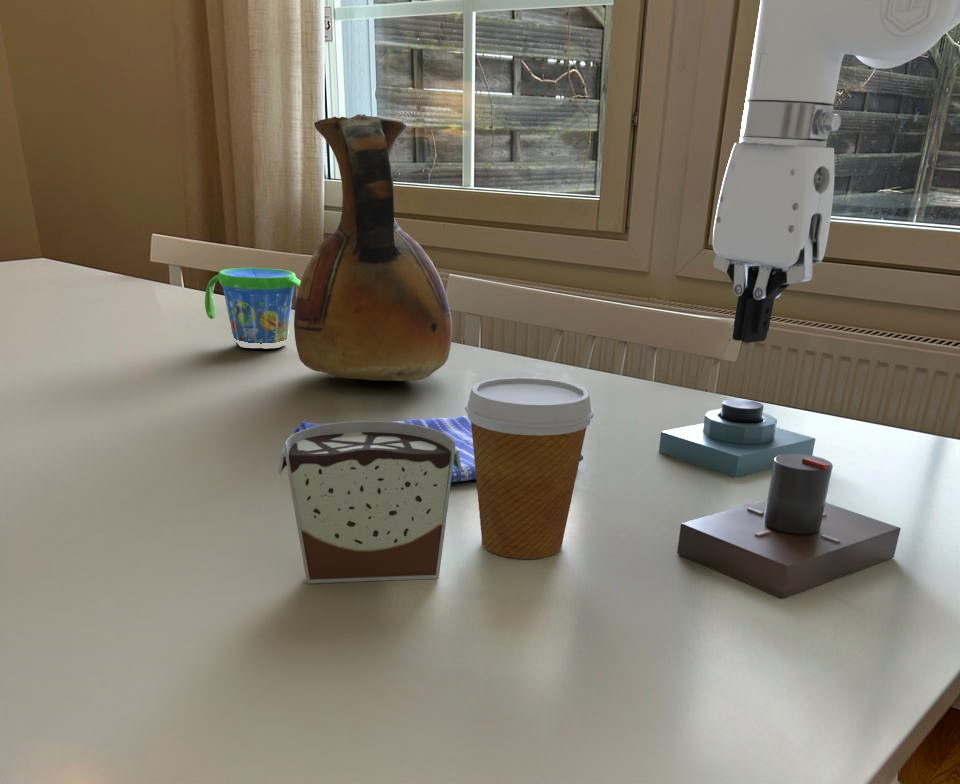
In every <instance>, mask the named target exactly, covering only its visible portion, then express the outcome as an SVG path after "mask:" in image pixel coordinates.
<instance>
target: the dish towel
mask: <svg viewBox="0 0 960 784" xmlns="http://www.w3.org/2000/svg"><path fill="white" fill-rule="evenodd" d="M391 422H399V423H407V424H414V425H419V426H424V427H428V428H432V429H435V430H438V431H441V432H443V433H445V434H447V435H448V436H450V437H451V438H452V439H453V440H454V441H455V447H456V448H457V450H458V451H459V456H460V462H461V467H462V471H459V470H458V468H457V467H456V466H454V465H453V470H452V478H451V483H457V482H465V481H466V482H467V481H471V480H472V481H473V480H476V471H475V460H474V449H473V439H472V428H471V421H470V420H469V419H468V415H461V416H457V417H456V416H455V417H434V418H426V419H425V418H424V419H421V418H410V419H407V420H404V421H403V420H393V421H391ZM300 424H301V425H299V426H296V428H295V429H294V430H293V434H295V433H297V432H299V431H301V430H304V429H307V428H311V427H315V426H319V425H325V424H326V423H313V422H308V421H305V420H303V421H301V423H300ZM583 460H584V456H583V455H582V454H581V456H580V461H579V463H580V462H582V461H583Z"/></svg>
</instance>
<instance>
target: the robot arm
mask: <svg viewBox="0 0 960 784" xmlns="http://www.w3.org/2000/svg"><path fill="white" fill-rule="evenodd" d="M757 16H758V17H757V23H756V30H755V37H754V43H753V49H752V56H751V63H750V69H749V76H748V82H747V90H746V96H745V103H744V110H743V115H742V121H741V129H740V136H739V141H738V142H734V145H733V148H732V149H731V153H730V157H729V159H728V163H727V166H726V169H725V173H724V176H723V180H722V185H721V188H720V193H719V197H718V202H717V207H716V213H715V218H714V224H713V232H712V249H713V251H714V253H715V255H714V258H713V262H712V266H713V267H714V268H715V269H716V270H718V271H720V272H722V273H724V274H727V275H728V277H729V279H730V281H731V283H732V285H733V287H732V290H733V294H734V295H735V296H736V297H737V303H736V308H735V309H736V310H735V315H734V322H733V330H732V340H733V341H738V342H740V341H741V342H742V343H745V344H751V343H759V342H764V341H766V339H767V337H768V332H769V329H770V325H771V319H772V314H773V307H774V303H775V302H774V301H775V299H776V300H777V299H779V298H780V297H782V296H781V295H782V293H783V291H785V290H786V289H787V288H788V287H790V285H795V284H802V283H809V282H811V281H812V279H813V277H814V276H813V275H814V272H813V271H814V269H813V268H814V266H815V265H818V264H820V263H821V262H822V261H823V260H824V257H825V254H826V249H827V244H828V239H829V233H830V225H831V219H832V211H833V202H834V193H835V192H834V191H835V166H836V165H835V148H834V147H827V144H828V140H829V136H830V132H835V133H836V132H838V130H839V129H840V127H841V124H842V117H841V115H840V114H839V113H834V110H835V106H834V104H835V101H836V100H835V99H836V94H837V88H838V84H839V78H840V73H841V68H842V62H843V59H844V56H845V55H848V56H855V58H856V59H858V61H860V62H861V63H862V64H864V65H865V66H868V67H870V68H873V69H882V70H883V69H887V70H888V69H892V68H897V67H900V66H902V65H904V64H906V63H909V62H911V61H912V60H915V59H917V58H918V57H921V56H922V55H924V54H925V53H927V52H928V51H929V50H931V49H932V48H933V47H934V46H935V45H936V44H937V43H938V42H939V41H940V40H941V39H942V37H943V36H944V35H946V34H947V33H948V32H949V31H951V30H952V29H954V28H955V27H956V26H959V24H960V0H760V3H759V10H758V15H757ZM791 266H792V267H791ZM790 267H791V268H790Z"/></svg>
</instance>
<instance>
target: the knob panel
mask: <svg viewBox="0 0 960 784" xmlns="http://www.w3.org/2000/svg"><path fill="white" fill-rule="evenodd" d="M766 505H767V499H764V500H761V501H757V502H753V503H750V504H749V503H748V504H746V505H742V506H739V507H735V508H731V509H728V510H723V511H721V512H716V513H713V514H710V515H706V516H703V517H699V518H696V519H695V518H694V519H692V520H689V521H684V522H681V523H680V528H679V534H678V543H677V551H676V554H678V555H680V556H682V557H685V558H687V559H689V560H691V561H693V562H696V563H699V564H701V565H703V566H706V567H708V568H710V569H712V570H715V571H717V572H719V573H721V574H724V575H726V576H729V577H731V578H733V579H735V580H738V581H740V582H742V583H745V584H747V585H750V586H751V587H754V588H756V589H758V590H761V591H764V592H766V593H768V594H770V595H772V596H775V597H777V598H779V599H785V598H788V597H790V596H793V595H796V594H799V593H801V592H804V591H807V590H810V589H812V588H815V587H818V586H821V585H823V584H826V583H828V582H831V581H834V580H836V579H840V578H842V577H845V576H848V575H851V574H853V573H855V572H858V571H861V570H863V569H864V570H865V569H866V568H869V567H872V566H874V565H877V564H879V563H882V562H886V561H888V560H890V559H893V558H894V557H895V553H896V550H897V546H898V541H899V538H900V534H901V529H902V528H901V527H900V526H896V525H893V524H891V523H888V522H885V521H882V520H878V519H876V518H872V517H870V516H866V515H864V514H861V513H858V512H856V511H855V512H854V511H852V510H848V509H846V508H843V507H840V506H837V505H834V504H832V503H829V502H825V507H824V512H823V517H822V522H821V526H820V529H819V531H817V532H815V533H812V534H790V533H784V532H780V531H777V530H774V529H772V528H770V527H768V526H767V525H766V524H765V523H764V516H765V510H766Z"/></svg>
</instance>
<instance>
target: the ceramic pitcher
mask: <svg viewBox="0 0 960 784" xmlns="http://www.w3.org/2000/svg"><path fill="white" fill-rule="evenodd" d="M313 126H314V127H315V130H317V132H318V133H319V134H320V135H321V136H322V137H323V139H324V140H325V141H326V143H327V144H328V145H329V147H330V149H331V151H332V153H333V155H334V157H335V160H336V163H337V165H338V171H339V176H340V180H341V190H342V192H341V193H342V202H341V203H342V204H341V205H342V207H341V215H340V222H339V224H338V227H337V228H336V230H335V231H334V232H333V233H332V234H330V235H329V236H327V238H325V239H324V241H323V242H322V243H321V244H320V245H319V246H318V247H317V249H316V250H315V252H314V253H313V254H312V256H311V258H310V260H309V262H308V263H307V265H306V267H305V269H304V271H303V274H302V277H301V279H300V280H301V282H300V286H299V289H298V291H297V295H296V299H295V305H294V314H293V315H294V317H293V319H294V320H293V331H294V341H295V347H296V351H297V355H298V359H299V361H300V362H301V363H302V364H303V365H304V366H305V367H307V368H308V369H310V370H312V371H314V372H318V373H324V374H328V375H332V376H335V377H336V378H344V379H351V380H363V381H364V380H365V381H381V382H382V381H383V382H385V381H396V382H404V381H411V382H415V381H417V382H418V381H422V380H425V379H427V378H428V377H430V376H431V375H433V374H434V373H435V372H436V371H438V370H439V369H441V368H442V367H443V366H444V365H445V364H446V363H447V361H448V360H449V357H450V353H451V347H452V341H453V340H452V339H453V321H452V313H451V308H450V303H449V298H448V295H447V292H446V289H445V286H444V283H443V281H442V279H441V276H440V274H439V272H438V270H437V269H436V267H435V265H434V262H433V260H431V258H430V257H429V255H428V254H427V252H426V251H425V250H424V249H423V248H422V246H421V245H420V244H419V243H418V241H416V240H415V238H413V237H412V236H411V235H409V233H407V232H406V231H404V229H402V228H401V227H400V226H399V224H398V222H397V221H396V220H397V219H396V218H395V186H394V185H395V184H394V179H393V174H392V166H391V159H390V157H391V154H392V151H393V148H394V145H395V144H396V143H397V141H398V139H399V138H400V137H401V136H402V135H403V134H404V133H405V131H406V130H407V128H408V125H407V124H405V123H404V121H402V120H397V119H390V118H384V117H378V116H370V115H366V114H362V113H359V114H356V115H354V116H352V117H346V116H340V117H338V116H333V117H326V118H323V119H319V120H317V121H316V122H314V125H313Z"/></svg>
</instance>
